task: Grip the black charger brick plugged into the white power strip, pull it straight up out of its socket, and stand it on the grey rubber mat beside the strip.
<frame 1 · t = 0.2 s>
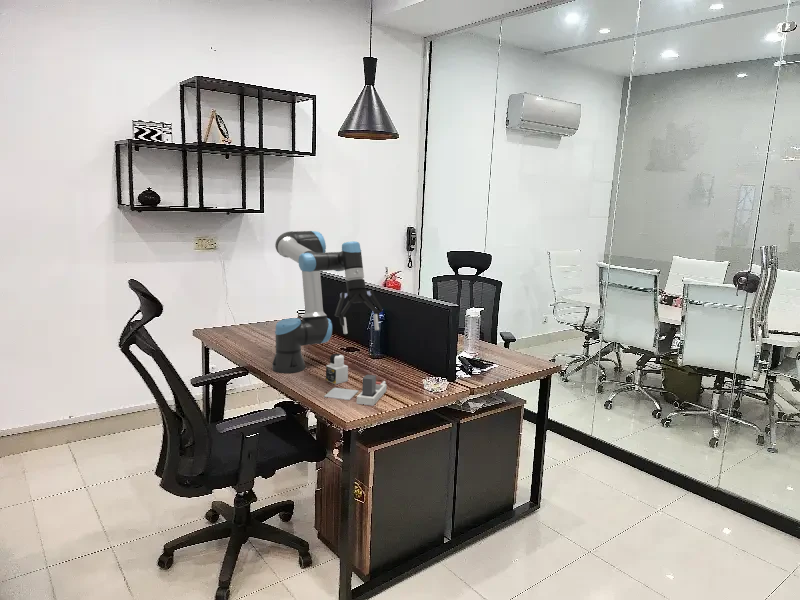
hand: (361, 332, 224), 28 cm above the table, tool tilted 15°, fingers open, 13 cm apart
mat: (341, 394, 232), on the table
medicine bottle: (336, 381, 248), on the table
power strip: (372, 397, 230), on the table
charger: (368, 400, 226), resting in power strip
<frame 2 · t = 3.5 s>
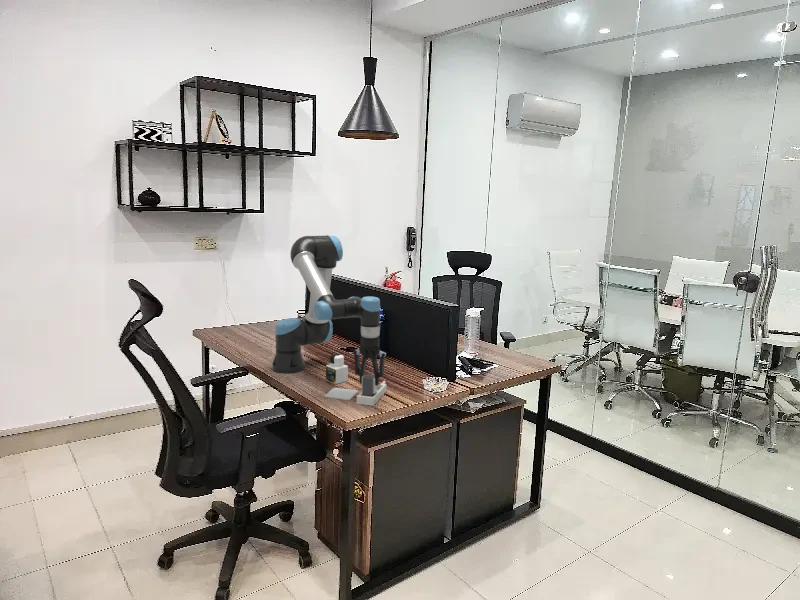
hand: (369, 391, 225), 4 cm above the table, tool pointing down, fingers closed on charger, 4 cm apart
charger: (368, 400, 226), resting in power strip, touching gripper
everything else where it was.
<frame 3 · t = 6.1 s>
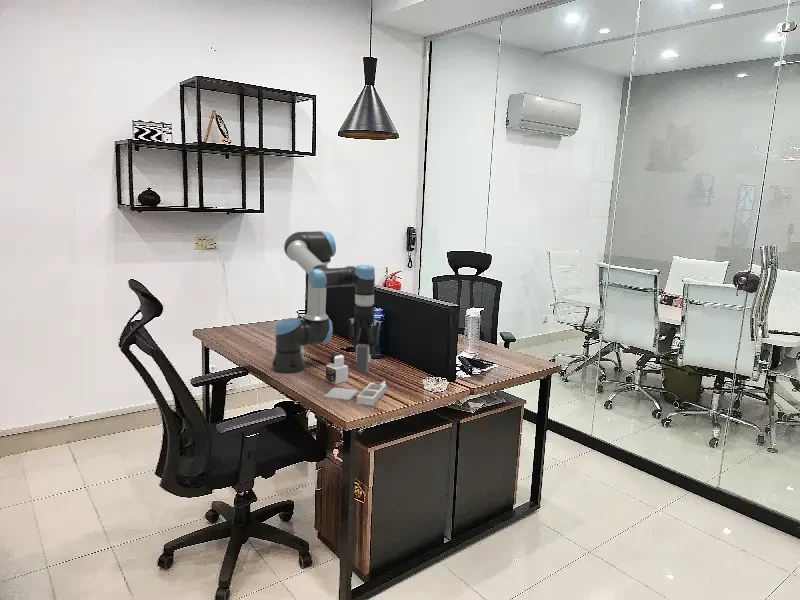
hand: (363, 361, 225), 16 cm above the table, tool pointing down, fingers closed on charger, 4 cm apart
charger: (363, 369, 225), point 12 cm above the table, touching gripper
everything else where it was.
when the fingers open (5 cm above the table, at t = 8.6 s): charger drops 1 cm, resting on mat.
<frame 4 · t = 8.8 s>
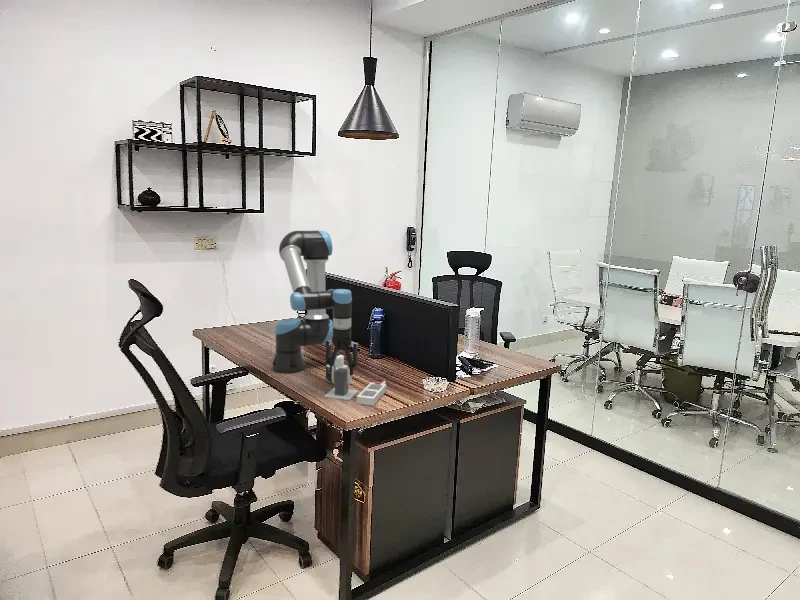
hand: (341, 381, 231), 6 cm above the table, tool pointing down, fingers open, 6 cm apart
charger: (341, 393, 232), resting on mat
everything else where it was.
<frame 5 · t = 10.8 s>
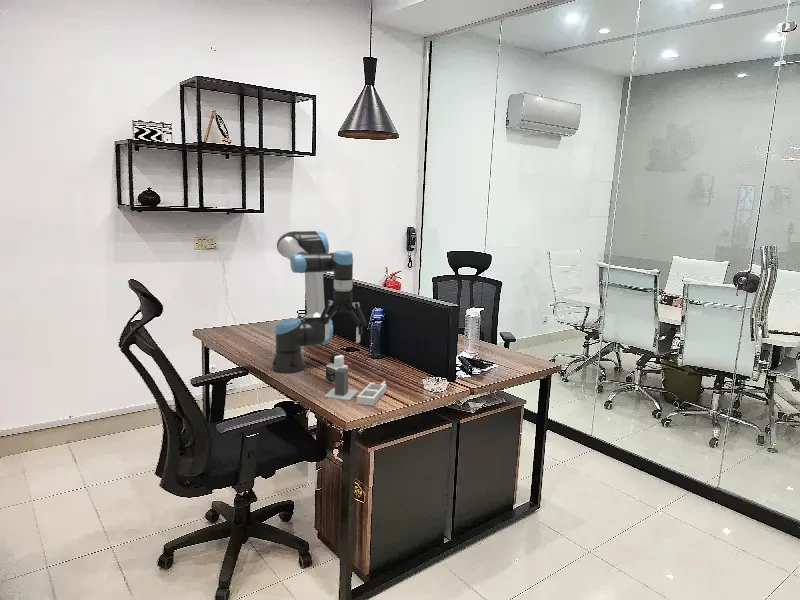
hand: (342, 340, 228), 23 cm above the table, tool pointing down, fingers open, 13 cm apart
nothing on the table moved.
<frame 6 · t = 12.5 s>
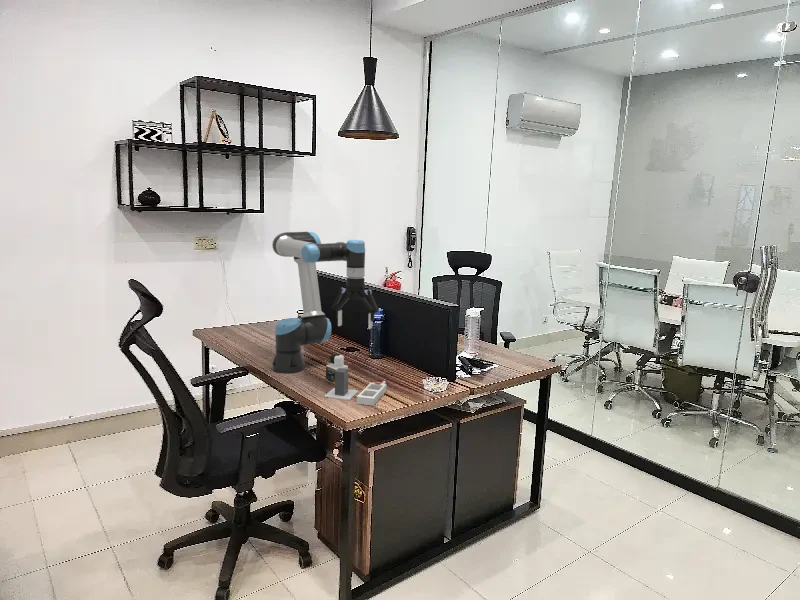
hand: (354, 326, 236), 27 cm above the table, tool pointing down, fingers open, 13 cm apart
nothing on the table moved.
at the end: charger inside the target area on the mat (0.0 cm from its centre), point 0.4 cm above the mat's base; charger tilted 0°; the gripper is holding nothing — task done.
